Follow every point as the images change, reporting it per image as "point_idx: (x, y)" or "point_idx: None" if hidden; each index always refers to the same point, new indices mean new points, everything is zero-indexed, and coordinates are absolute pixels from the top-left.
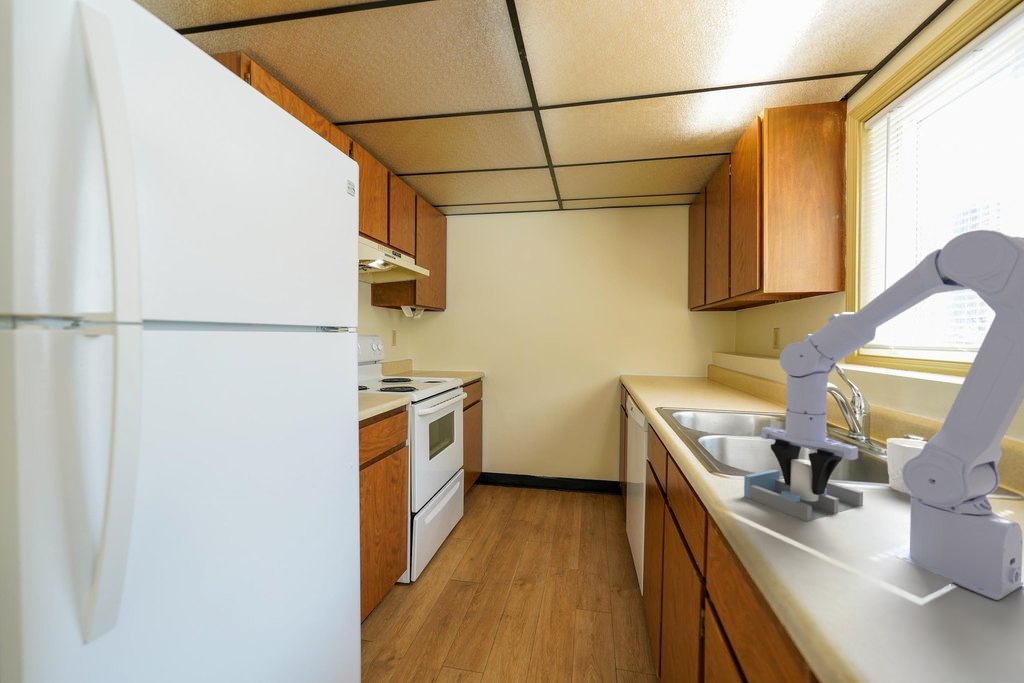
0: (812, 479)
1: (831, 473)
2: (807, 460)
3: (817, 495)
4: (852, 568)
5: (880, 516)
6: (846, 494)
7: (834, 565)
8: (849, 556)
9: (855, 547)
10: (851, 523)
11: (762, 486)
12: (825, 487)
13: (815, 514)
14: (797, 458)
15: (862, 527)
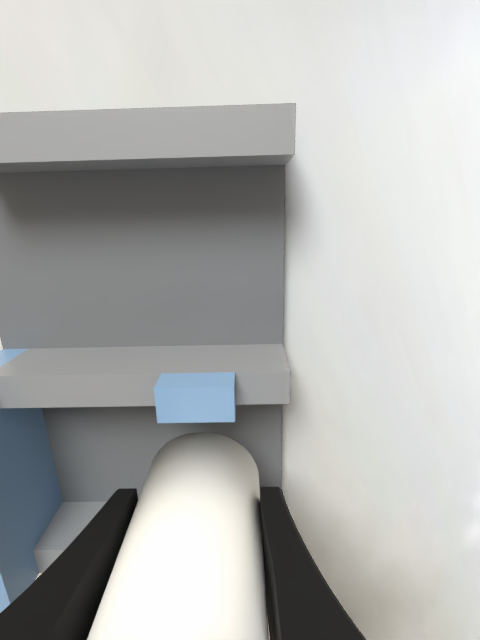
0: (270, 632)
1: (330, 589)
2: (130, 628)
3: (259, 492)
4: (460, 614)
5: (369, 157)
6: (223, 160)
7: (431, 633)
8: (434, 573)
9: (423, 518)
10: (340, 362)
11: (30, 485)
12: (288, 510)
13: (257, 445)
14: (53, 635)
15: (377, 360)
